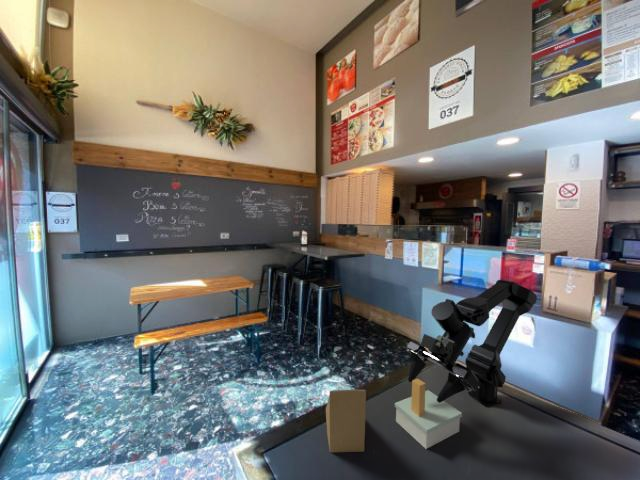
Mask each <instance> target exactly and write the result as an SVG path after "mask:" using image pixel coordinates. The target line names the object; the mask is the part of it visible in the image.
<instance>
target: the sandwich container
mask: <svg viewBox="0 0 640 480" xmlns="http://www.w3.org/2000/svg"><path fill="white" fill-rule="evenodd" d="M366 395H367V391H366V389H336V390H335V389H334V390H329V396H328V400H327V404H326V406H325V417H326V418H325V419H326V420H325V422H326V423H325V424H326V433H327V434H326V435H327V443H328V448H329V449H328V450H329V453H352V452H354V453H355V452H357V453H358V452H365V442H366V441H365V435H366V406H367V405H366V402H367V400H366V399H367V396H366Z"/></svg>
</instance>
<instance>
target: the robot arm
mask: <svg viewBox="0 0 640 480" xmlns="http://www.w3.org/2000/svg"><path fill="white" fill-rule="evenodd" d="M537 300H538V296H537V294H536V293H535V292H534V291H533V289H529V288H526V287H524V286H522V285H520V284H519V283H517V282H515V281H512V280H507V279H502V278H501V279H498V280H496V282H495V284H493V285H492V286H490V287H489V288H487V289H486V290H484V291H483V292H481V293H480V294H478V295H477V296H474V297H466V298H464V299H462V300H459V301H458V302H457V303H455V301H454V300H453V299H449V298H446V299H445V301H441V302H439V303H436V304H435V305H434V306H432V308H431V311H430V312H431V313H430V314H431V316H432V318H433V319H434V320H435V321H436V323H437V324H438V325H439V326H440V328H441V329H442V331H443V330H444V333H443V334H442V335H441V334H438V335H437V336H436V338H435V337H433V336H430V335H428V334H425V333H424V334H423V336H422V339H421V342H420V343H419V342H417V341H415V340H411V341H410V342H408V344H407V345H406V348H407V350H408V353H409V354H410V357H411V363H410V370H409V373H408V378H407V381H408V382H410V383H411V384H412V380H415V379H417V377H418V376H419V374H420V373H421V372H422V371H423V369H424V368H425V367H426V366H427V364H426V362H428V361H429V362H431V363H433V364H435V365H436V366H438V367H440V368H442V369H444V370H446V371H447V372H448V374H447V375H448V376H447V379H446V380H447V381H446V382H445V383H444V385H443V387H442V389H441V390H440V392H439V394H438V395H437V396H438V398H437V401H438V402H439V403H440V402H442V401H446V400H447V399H449V398H450V397H452V396H454V395H456V394H458V393H461V392H463V391H467V394H468V395H469V396H471V397H472V398H473V399H475V400H476V401H477V402H478V403H480V404H481V405H483V406H484V407H489V406H493V405H497V404H502V403H503V401H502V399H501V398H499V397H498V388H503V387H504V385H505V382H506V379H507V376H506V375H505V374H504V372H503V371H502V360H501V354H502V351H503V350H504V347H505V346H506V343H507V341H508V339H509V338H510V335H511V334H512V332H513V330H514V328H515V325H516V324H517V322H518V321H519V318H520V317H521V316H523V315H525V314H527V313H529V312H530V311H531V310H532V309H533V307H534V306H535V304H536V303H537ZM501 303H502V308H501V310H500V311H499V313H498V315H497V317H496V319H495V321H494V323H493V324H492V326H491V328H490V330H489V331H488V334H487V335H486V338H485V339H484V341H483V343H482V344H480V345H479V344H473V345H472V346H471V349H470V350H469V352H468V354H467V356H466V358H465V360H464V361H465V366H464V365H462V364H460V363H456V362H457V360H458V358H459V357H463V356H464V354H465V353H464V351H463V350H464V349H465V346H466V345H467V343H468V342H469V340H470V338H471V339H476V333H475V331H474V330H475V329H474V327H472V326H470V325H473V326H475V327H481V326H483V325H484V324H486V322H487V321H488V320H489V319H490V312H491V311H492V310H493V309H494V308H495V307H497V306H498V305H500V304H501ZM469 324H470V325H469Z"/></svg>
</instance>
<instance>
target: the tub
mask: <svg viewBox="0 0 640 480" xmlns="http://www.w3.org/2000/svg"><path fill="white" fill-rule="evenodd" d="M395 408H396V407H395ZM395 410H396V411H395V416H396V417H395V422H396V423H397V424H398V425H399V426H400V427H402V428H403V429H404V430H405V431H406V432H407V433H408V434H409V435H410V436H411V437H412V438H414V440H415V441H417V442H418V443H419V444H420V445H421V446H422V447H423V448H425V450H427V449H430V448H431V447H433V446H435V445H437V444H439V443H440V442H442V441H444V440H445V439H447V438H449V437H451V436H453V435H455V434H457V433H460V423H461V419H460V418H461V417H460V418H458V419H456V420H454V421H452V422H450V423H448V424H446V425H444V426H442V427H440V428H438V429H436V430H434V431H432V432H430V433H428V434H426V433H425V432H423V431H422V430H421V429H420V428H419V427H418V426H417V425H415V424H414V423H413V422H412V421H411V420H410V419H408V418H407V417H406V416H405V415H404V414H403V413H401V412H400V411H399V410H398V409H397V408H396V409H395Z"/></svg>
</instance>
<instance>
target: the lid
mask: <svg viewBox="0 0 640 480" xmlns="http://www.w3.org/2000/svg"><path fill="white" fill-rule="evenodd" d="M426 385H427V384H426V383H425V382H424V381H422V380H421V379H419V378H415V379H414V380H412V382H411V396H409V397H407V398H405V399H402V400H399V401H397V402H395V403H394V408H397V409H398V410H399V411H400V412H401V413H403V414H404V415H405V416H406V417H407V418H408V419H410V420H411V421H412V422H413V423H414V424H415V425H417V426H418V427H419V428H420V429H421V430H422V431H423V432H425V433H426V434H428V433H430V432H432V431H434V430H436V429H438V428H440V427H442V426H444V425H446V424H448V423H450V422H452V421H454V420H456V419H458V418H462V416H463V413H462V412H461V411H460V410H458V409H457V408H455V406H452V405H451V404H449V403H448V402H446V400H444V401H442V402H440V403H439V402H438V401H437V398H438V395H436V394H435V393H433V392H431V390H429V389H427V390H426Z"/></svg>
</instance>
